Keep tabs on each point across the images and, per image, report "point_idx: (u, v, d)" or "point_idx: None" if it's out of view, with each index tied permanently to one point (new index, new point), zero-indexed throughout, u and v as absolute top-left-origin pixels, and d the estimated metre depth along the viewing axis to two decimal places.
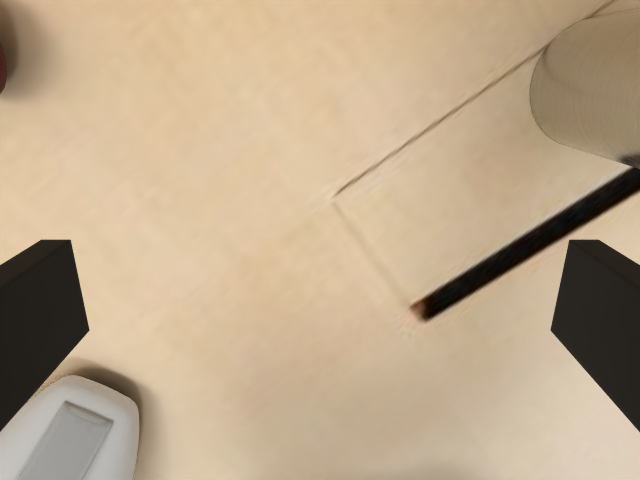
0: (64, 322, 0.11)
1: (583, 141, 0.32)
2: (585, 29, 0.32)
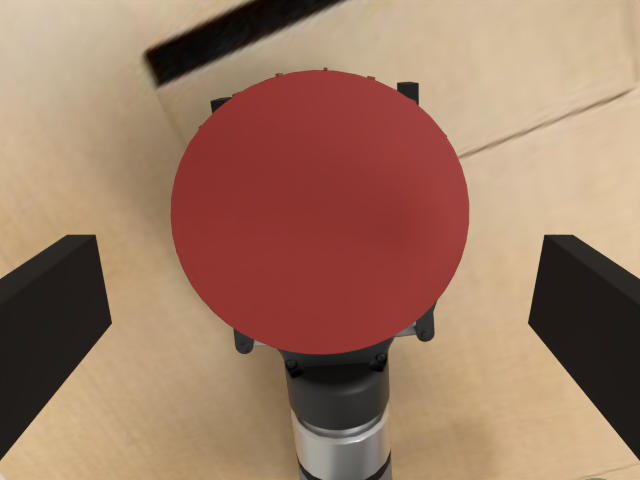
0: (90, 314, 0.12)
1: None
2: None
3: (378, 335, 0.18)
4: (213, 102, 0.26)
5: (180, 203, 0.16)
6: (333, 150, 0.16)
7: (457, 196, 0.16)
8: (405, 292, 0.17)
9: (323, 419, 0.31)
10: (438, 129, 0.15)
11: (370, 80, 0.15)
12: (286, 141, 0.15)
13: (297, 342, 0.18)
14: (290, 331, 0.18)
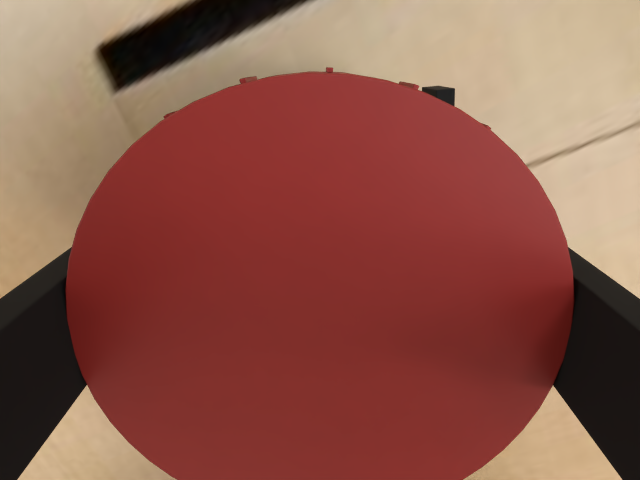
0: None
1: None
2: None
3: None
4: None
5: (81, 299, 0.10)
6: (343, 213, 0.09)
7: (555, 288, 0.09)
8: (458, 432, 0.11)
9: None
10: (531, 178, 0.09)
11: (412, 91, 0.08)
12: (260, 197, 0.09)
13: None
14: None
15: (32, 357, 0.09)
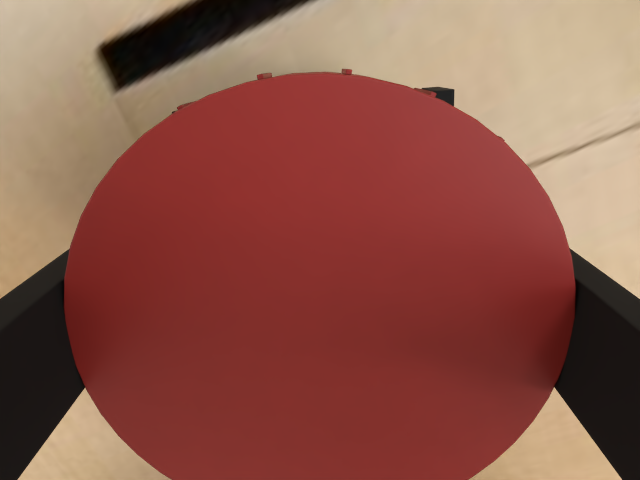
0: None
1: None
2: None
3: (483, 149, 0.08)
4: None
5: None
6: (195, 374, 0.10)
7: (143, 164, 0.08)
8: (366, 150, 0.08)
9: None
10: (70, 256, 0.09)
11: (80, 371, 0.10)
12: (220, 430, 0.11)
13: (551, 285, 0.09)
14: (530, 305, 0.10)
15: (33, 357, 0.09)
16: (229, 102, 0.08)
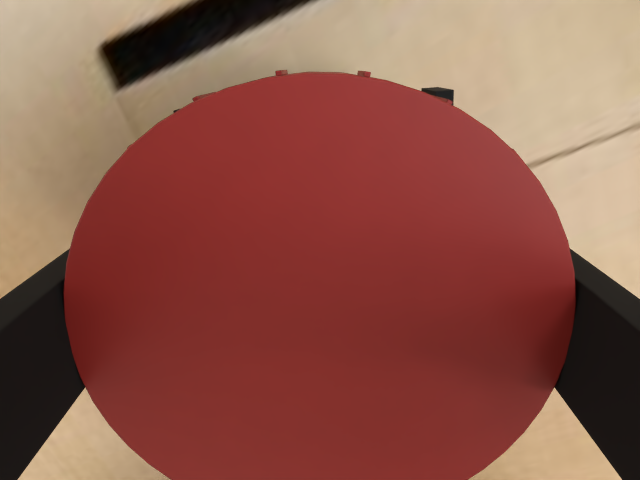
0: None
1: None
2: None
3: (79, 305, 0.09)
4: None
5: (520, 188, 0.09)
6: (405, 418, 0.11)
7: None
8: (138, 381, 0.10)
9: None
10: None
11: None
12: (463, 380, 0.10)
13: (142, 174, 0.08)
14: (173, 178, 0.09)
15: (32, 357, 0.09)
16: (167, 468, 0.11)
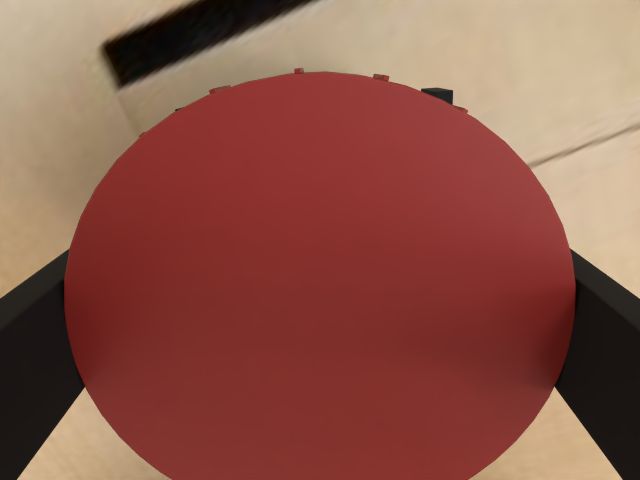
0: None
1: None
2: None
3: None
4: None
5: (84, 260, 0.09)
6: (371, 221, 0.09)
7: (555, 329, 0.10)
8: (433, 453, 0.11)
9: None
10: (557, 220, 0.09)
11: (464, 115, 0.08)
12: (292, 190, 0.09)
13: None
14: None
15: (32, 357, 0.09)
16: (533, 405, 0.10)
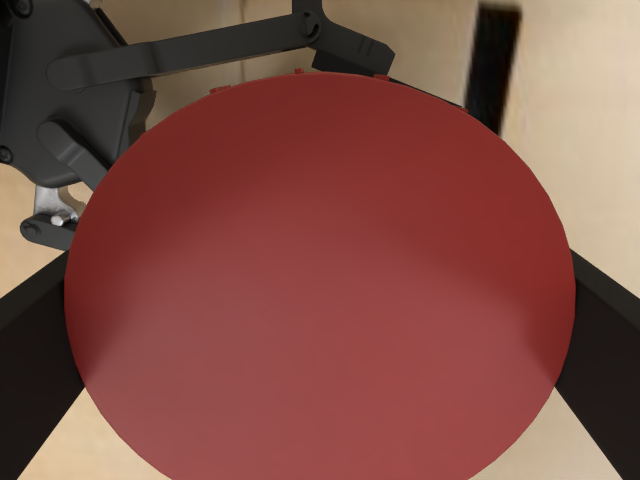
0: None
1: None
2: None
3: None
4: None
5: (84, 260, 0.09)
6: (371, 221, 0.09)
7: (555, 330, 0.10)
8: (433, 453, 0.11)
9: None
10: (557, 221, 0.09)
11: (464, 115, 0.08)
12: (293, 190, 0.09)
13: None
14: None
15: (32, 357, 0.09)
16: (533, 406, 0.10)
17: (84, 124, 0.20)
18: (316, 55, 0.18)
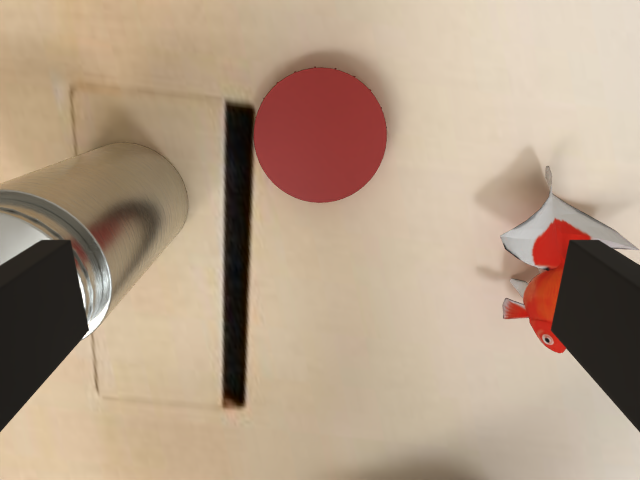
0: (64, 322, 0.11)
1: None
2: None
3: (337, 196, 0.39)
4: None
5: (261, 114, 0.36)
6: (332, 104, 0.36)
7: (381, 135, 0.37)
8: (352, 176, 0.38)
9: None
10: (377, 103, 0.36)
11: (353, 77, 0.35)
12: (313, 96, 0.36)
13: (299, 193, 0.39)
14: (296, 186, 0.39)
15: None
16: (379, 159, 0.38)
17: None
18: None
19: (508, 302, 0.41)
